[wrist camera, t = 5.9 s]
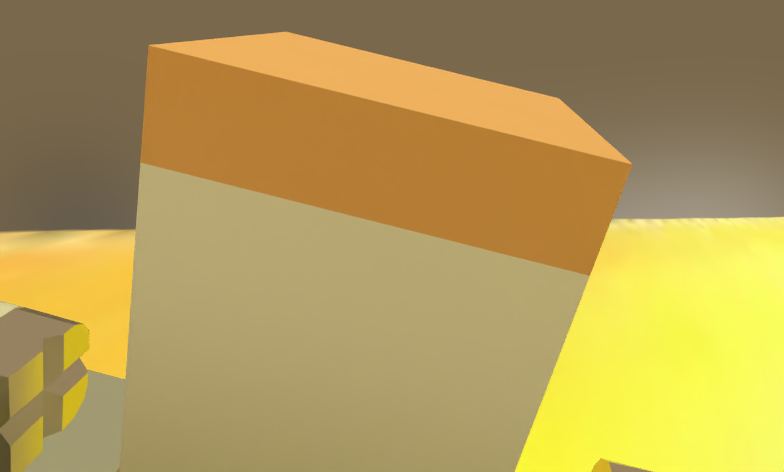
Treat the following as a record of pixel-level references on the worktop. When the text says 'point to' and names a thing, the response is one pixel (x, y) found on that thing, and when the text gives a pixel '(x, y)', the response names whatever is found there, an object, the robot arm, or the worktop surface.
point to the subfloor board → (88, 432)
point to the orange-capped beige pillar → (350, 260)
